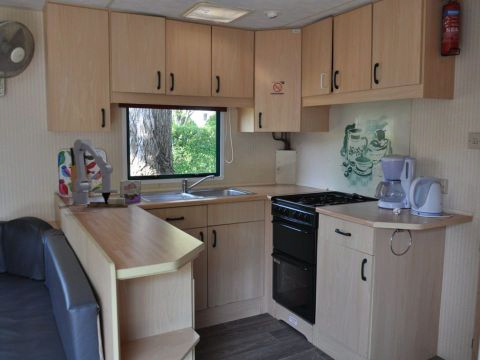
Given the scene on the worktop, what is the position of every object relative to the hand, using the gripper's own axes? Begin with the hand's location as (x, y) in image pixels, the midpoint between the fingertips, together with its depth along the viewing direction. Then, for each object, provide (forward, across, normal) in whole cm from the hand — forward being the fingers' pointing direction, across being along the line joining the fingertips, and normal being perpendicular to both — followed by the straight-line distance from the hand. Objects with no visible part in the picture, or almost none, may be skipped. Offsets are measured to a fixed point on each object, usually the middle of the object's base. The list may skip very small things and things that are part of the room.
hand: (106, 204), depth 281 cm
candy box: (+3, +14, +18) cm, 23 cm away
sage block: (+1, +9, 0) cm, 9 cm away
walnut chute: (+3, +2, 0) cm, 3 cm away
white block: (+1, +4, 0) cm, 4 cm away
